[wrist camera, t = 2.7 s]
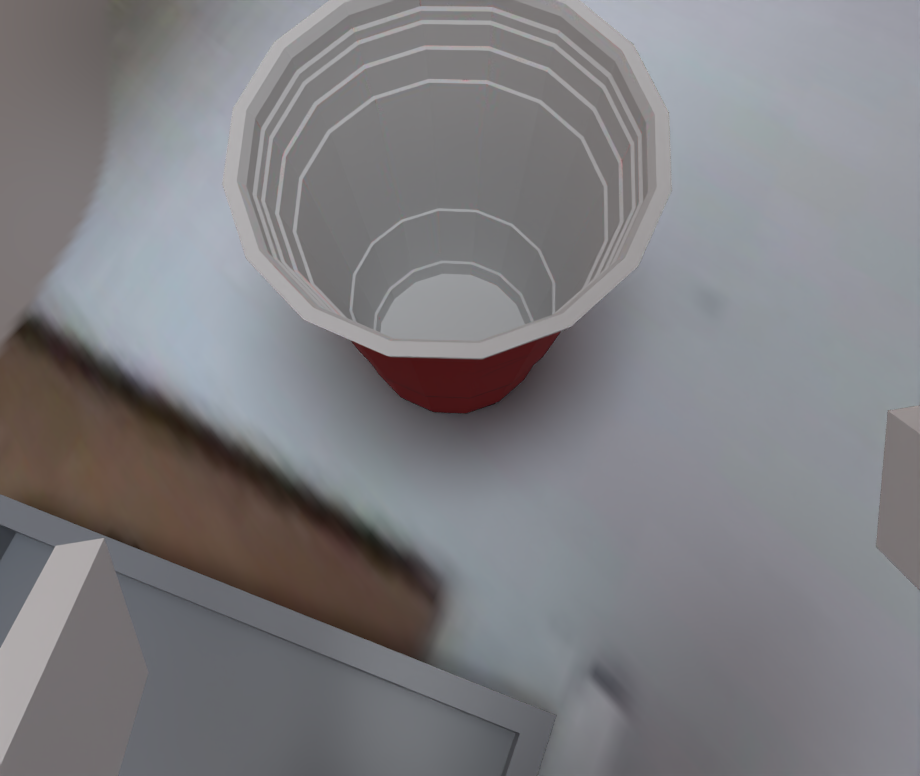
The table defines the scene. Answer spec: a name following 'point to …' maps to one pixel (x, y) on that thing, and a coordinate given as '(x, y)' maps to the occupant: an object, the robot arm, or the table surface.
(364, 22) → the plastic cup
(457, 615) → the table surface
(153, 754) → the grey shallow square tray
